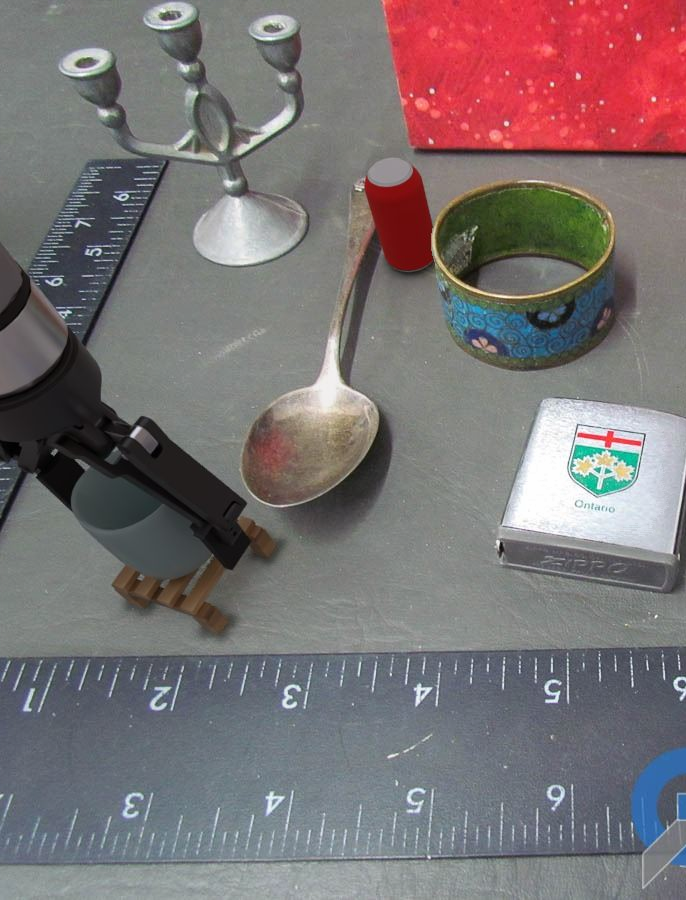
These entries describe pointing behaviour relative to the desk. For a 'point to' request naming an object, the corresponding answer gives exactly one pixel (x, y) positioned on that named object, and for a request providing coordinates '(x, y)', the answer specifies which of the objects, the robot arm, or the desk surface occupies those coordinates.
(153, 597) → the rack
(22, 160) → the desk surface
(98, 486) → the cup
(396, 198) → the beverage can
